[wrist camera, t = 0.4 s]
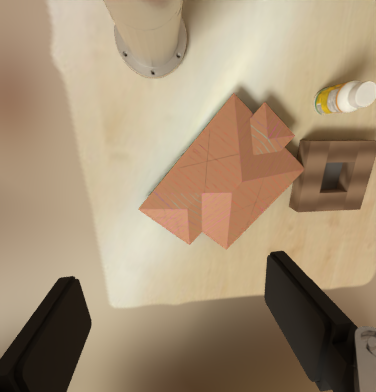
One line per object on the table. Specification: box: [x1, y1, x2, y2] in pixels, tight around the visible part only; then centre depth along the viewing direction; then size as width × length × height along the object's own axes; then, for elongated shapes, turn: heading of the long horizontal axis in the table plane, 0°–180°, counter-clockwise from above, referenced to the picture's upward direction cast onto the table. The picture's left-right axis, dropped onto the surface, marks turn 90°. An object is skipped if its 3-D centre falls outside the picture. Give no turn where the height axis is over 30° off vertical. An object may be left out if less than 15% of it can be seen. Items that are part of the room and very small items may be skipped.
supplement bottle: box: [313, 80, 376, 115], centre depth 38 cm, size 5×5×10 cm
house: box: [139, 93, 304, 249], centre depth 43 cm, size 23×33×8 cm
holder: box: [289, 140, 376, 212], centre depth 46 cm, size 16×16×4 cm
